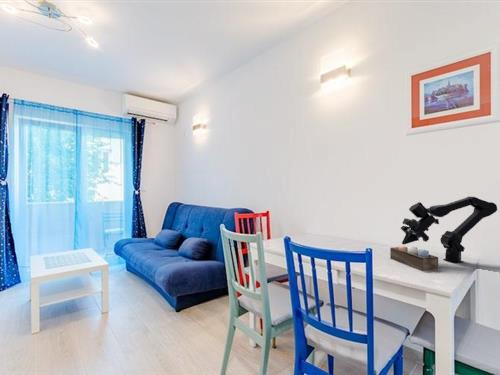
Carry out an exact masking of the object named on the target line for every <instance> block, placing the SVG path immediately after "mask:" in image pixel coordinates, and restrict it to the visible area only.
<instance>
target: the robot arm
mask: <svg viewBox="0 0 500 375" xmlns="http://www.w3.org/2000/svg"><path fill="white" fill-rule="evenodd" d="M469 206H471V207H472V208H473V212H472V213H471V214H470V215H469V216H468V217H467V218H465V220H463V221H462V222H461V223H460V224H459V225H458V226H457V227H456V228H455V229H454V230H452V231H450V230H446V231H445V232H444V233H443V234H441V236H440V239H439V240H440V243H441V245H442V246H443V248H444V249H445V258H443V260H444V261H446V262H450V263H453V264H457V263H458V264H459V263H460V264H461V263H465V261H464V260H462V252H463V253H464V251H465V249H466V248H465V247H464V246H463V245H462V244H461V243H462V241H463V238H464V237H465V235H466V234H467V233H469V232H470V231H471V230H472V229H473V228H474V227H475V226H477V224H479V222H481V221H482V220H483V219H484V218H487V217H490V216H491V215H493V214H495V213H496V212H497V211H498V206H497V204H496V203H495V202H490V201H486V200H483V199H481V198H478V197H476V196H467V197H464V198H462V199H459V200H455V201H452V202H449V203H446V204H436V205H432V206H429V207H428V208H426V207H425V206H424V205H423V203H421V202H420V201H419V202H417V203H415V204H412V205H411V206H410V207H409V208H408V210H409V211H410V212H411V213H412V214H413V215H414V216H415V218H416V219H415V218H412V219H409V218H405V217H403V221H402V224H403V225H402V226H401V227H400V230H401V231H402V232H404V234H405V236H404V238H403V240H402V242H401V244H402V246H403V245H407V244H411V243H414V242H417V241H420V239H421V238H422V241H423V242H427V243H428V241H429V240H430V237H429V235H427V233H426V231H427V232H428V231H429V230H430V229H429V228H430V227H432V225H433V224H436V225H440V222H439V218H444V217H445V216H447V215H449V214H450V213H451V212H453V211H456V210H460V209H463V208H467V207H469ZM435 217H436V218H435ZM419 218H420V219H419ZM417 219H419V220H417ZM406 225H407V226H406Z"/></svg>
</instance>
